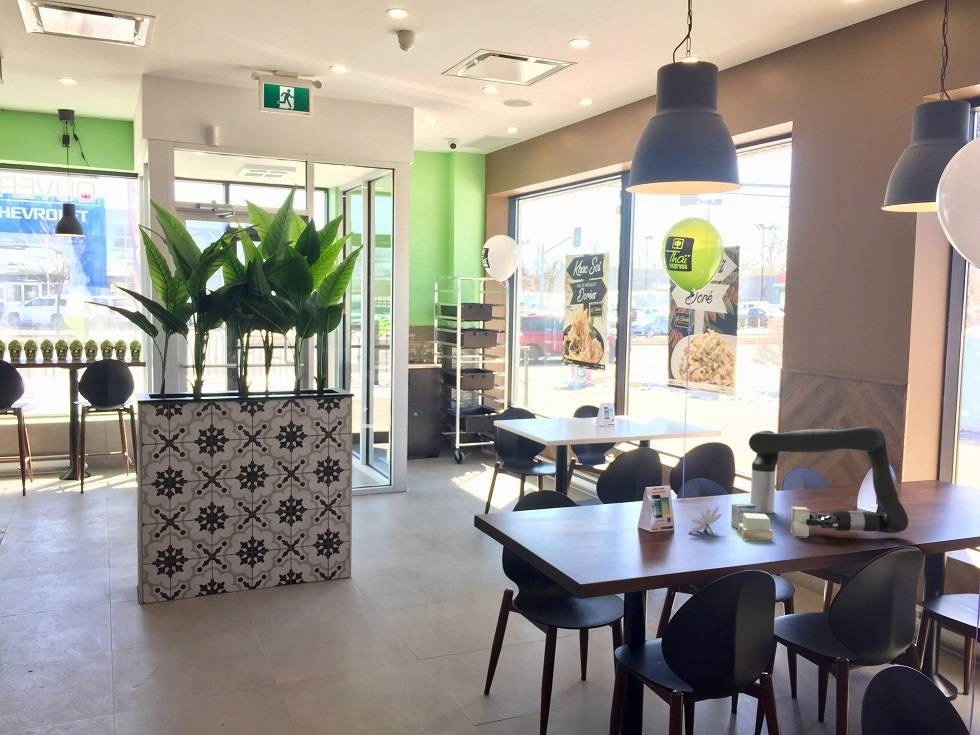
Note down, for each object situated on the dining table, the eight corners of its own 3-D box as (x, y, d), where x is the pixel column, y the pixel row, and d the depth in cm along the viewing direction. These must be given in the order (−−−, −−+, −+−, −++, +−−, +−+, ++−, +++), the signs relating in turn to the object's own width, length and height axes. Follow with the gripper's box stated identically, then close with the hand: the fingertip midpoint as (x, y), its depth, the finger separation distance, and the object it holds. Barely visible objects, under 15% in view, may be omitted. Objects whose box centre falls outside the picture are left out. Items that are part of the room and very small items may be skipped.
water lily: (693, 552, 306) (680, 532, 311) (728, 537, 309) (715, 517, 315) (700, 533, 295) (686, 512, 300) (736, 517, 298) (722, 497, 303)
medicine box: (737, 529, 314) (738, 506, 313) (730, 526, 318) (731, 503, 318) (755, 527, 316) (756, 505, 315) (749, 525, 320) (749, 502, 320)
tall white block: (790, 533, 308) (791, 506, 308) (804, 534, 308) (805, 507, 307) (794, 537, 303) (795, 509, 303) (808, 537, 303) (809, 510, 302)
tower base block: (737, 533, 308) (738, 523, 308) (765, 534, 307) (765, 524, 307) (743, 541, 298) (744, 530, 298) (772, 542, 297) (772, 531, 297)
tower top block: (742, 523, 307) (742, 512, 307) (764, 524, 306) (765, 513, 306) (746, 529, 299) (746, 518, 299) (769, 530, 298) (769, 519, 298)
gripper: (842, 506, 311) (797, 504, 312) (856, 515, 297) (809, 513, 298) (841, 526, 312) (796, 524, 313) (855, 536, 297) (808, 534, 298)
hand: (803, 519), depth 305 cm, fingers open, 8 cm apart
